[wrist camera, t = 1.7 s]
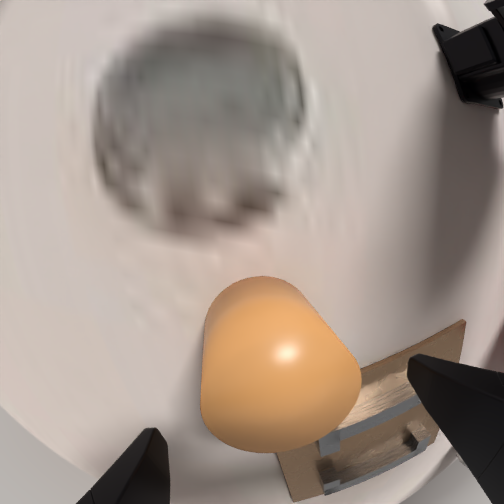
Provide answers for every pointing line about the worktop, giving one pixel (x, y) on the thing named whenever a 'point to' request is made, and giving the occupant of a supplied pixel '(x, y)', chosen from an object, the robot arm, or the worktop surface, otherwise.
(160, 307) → the worktop surface
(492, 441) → the robot arm
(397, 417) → the socket
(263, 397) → the cap
